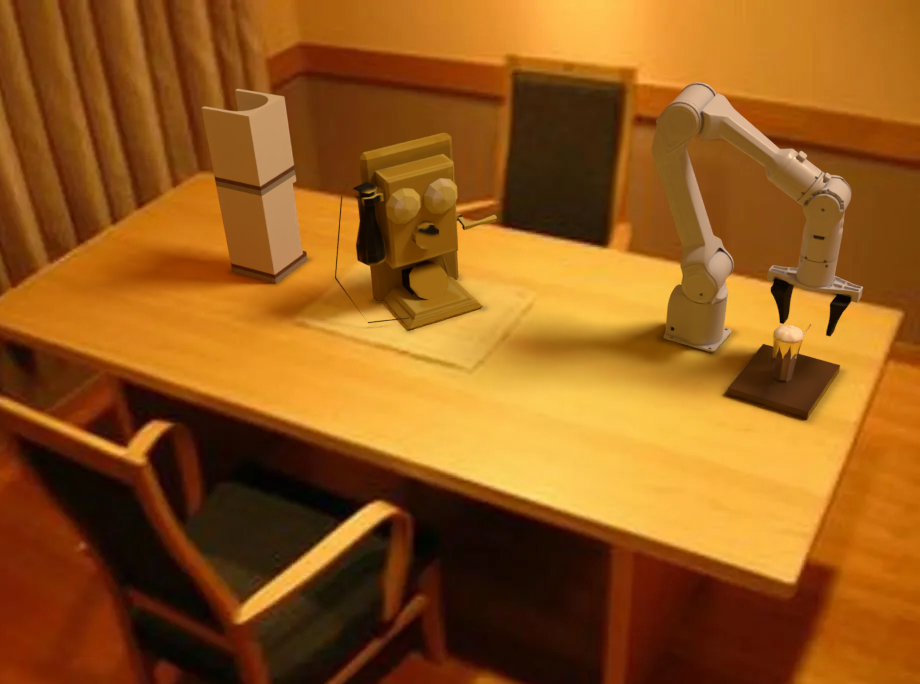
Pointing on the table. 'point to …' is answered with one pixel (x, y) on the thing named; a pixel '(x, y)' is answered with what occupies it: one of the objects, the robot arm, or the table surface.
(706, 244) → the robot arm
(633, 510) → the table surface
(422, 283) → the vintage telephone
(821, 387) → the board
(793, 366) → the milkshake
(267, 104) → the scooped banded pillar
